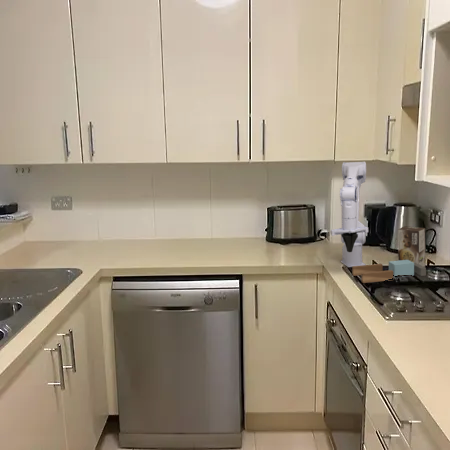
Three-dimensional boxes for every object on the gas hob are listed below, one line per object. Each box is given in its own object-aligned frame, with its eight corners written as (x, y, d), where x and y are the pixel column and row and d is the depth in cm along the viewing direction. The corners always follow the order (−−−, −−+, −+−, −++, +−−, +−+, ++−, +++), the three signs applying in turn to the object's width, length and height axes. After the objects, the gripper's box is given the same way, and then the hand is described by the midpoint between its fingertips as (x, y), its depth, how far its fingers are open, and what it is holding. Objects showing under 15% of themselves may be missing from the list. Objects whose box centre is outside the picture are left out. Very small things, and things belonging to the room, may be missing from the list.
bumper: (410, 270, 192) (410, 263, 191) (415, 269, 192) (415, 262, 191) (421, 275, 184) (421, 268, 183) (425, 275, 184) (426, 268, 183)
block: (388, 273, 189) (388, 261, 188) (407, 271, 190) (407, 259, 189) (394, 277, 184) (394, 264, 183) (413, 275, 185) (414, 263, 184)
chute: (352, 274, 190) (352, 266, 190) (380, 271, 192) (380, 263, 191) (363, 282, 180) (363, 274, 179) (393, 279, 181) (393, 271, 181)
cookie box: (425, 266, 196) (426, 227, 193) (418, 269, 191) (419, 230, 188) (404, 262, 202) (404, 225, 199) (397, 266, 198) (397, 228, 195)
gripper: (334, 220, 178) (335, 255, 181) (371, 217, 180) (371, 252, 183) (328, 217, 185) (329, 251, 188) (364, 214, 187) (364, 248, 190)
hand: (349, 251), depth 186 cm, fingers closed
